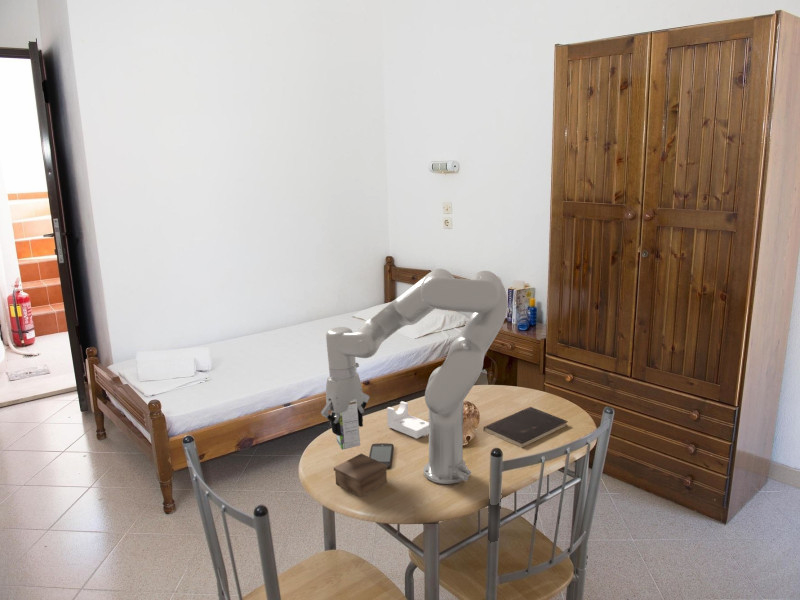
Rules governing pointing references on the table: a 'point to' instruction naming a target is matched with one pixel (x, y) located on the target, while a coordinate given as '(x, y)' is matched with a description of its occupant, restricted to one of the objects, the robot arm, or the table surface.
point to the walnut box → (361, 474)
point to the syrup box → (349, 427)
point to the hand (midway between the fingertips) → (348, 429)
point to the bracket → (406, 422)
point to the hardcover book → (525, 426)
